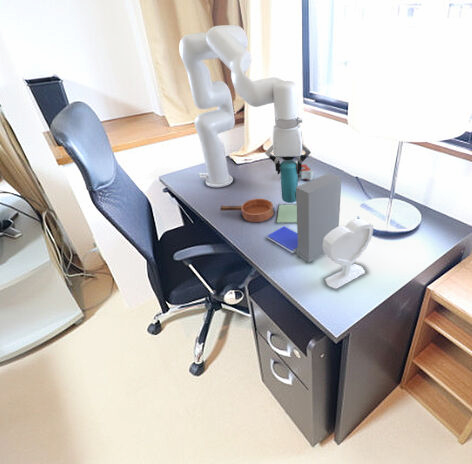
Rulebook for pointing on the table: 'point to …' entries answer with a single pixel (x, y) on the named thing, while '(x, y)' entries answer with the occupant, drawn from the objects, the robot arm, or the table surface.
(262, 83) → the robot arm
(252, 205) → the pan
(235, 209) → the pan handle
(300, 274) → the table surface
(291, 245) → the hard drive
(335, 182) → the tall grey upright box
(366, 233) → the heart sculpture
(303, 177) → the tape dispenser
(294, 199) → the beverage bottle
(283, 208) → the cloth
